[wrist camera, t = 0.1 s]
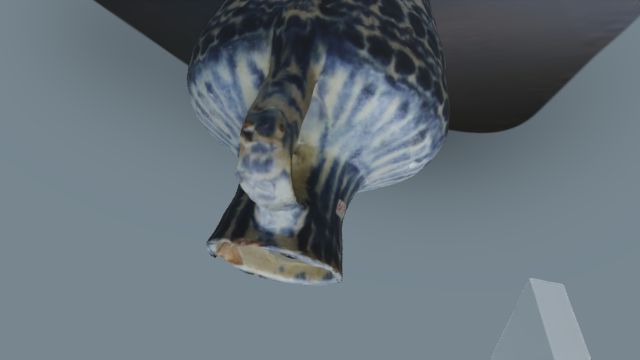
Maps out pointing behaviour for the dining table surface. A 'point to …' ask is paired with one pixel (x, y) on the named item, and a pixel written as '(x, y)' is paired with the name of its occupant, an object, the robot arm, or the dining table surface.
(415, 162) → the jug
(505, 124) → the dining table surface
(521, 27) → the dining table surface
